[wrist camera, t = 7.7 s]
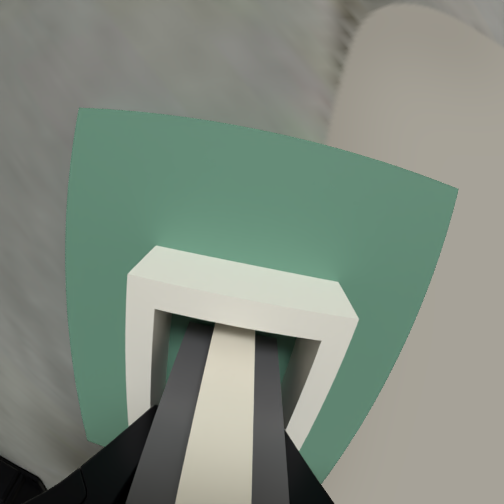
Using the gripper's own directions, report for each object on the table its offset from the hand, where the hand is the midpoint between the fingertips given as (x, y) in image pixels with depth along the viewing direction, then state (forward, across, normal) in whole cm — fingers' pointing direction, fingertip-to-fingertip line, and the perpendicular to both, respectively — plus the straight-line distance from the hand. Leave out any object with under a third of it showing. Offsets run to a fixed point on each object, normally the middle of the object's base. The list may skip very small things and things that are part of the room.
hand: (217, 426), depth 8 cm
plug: (+3, 0, 0) cm, 3 cm away
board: (+4, 0, 0) cm, 4 cm away
